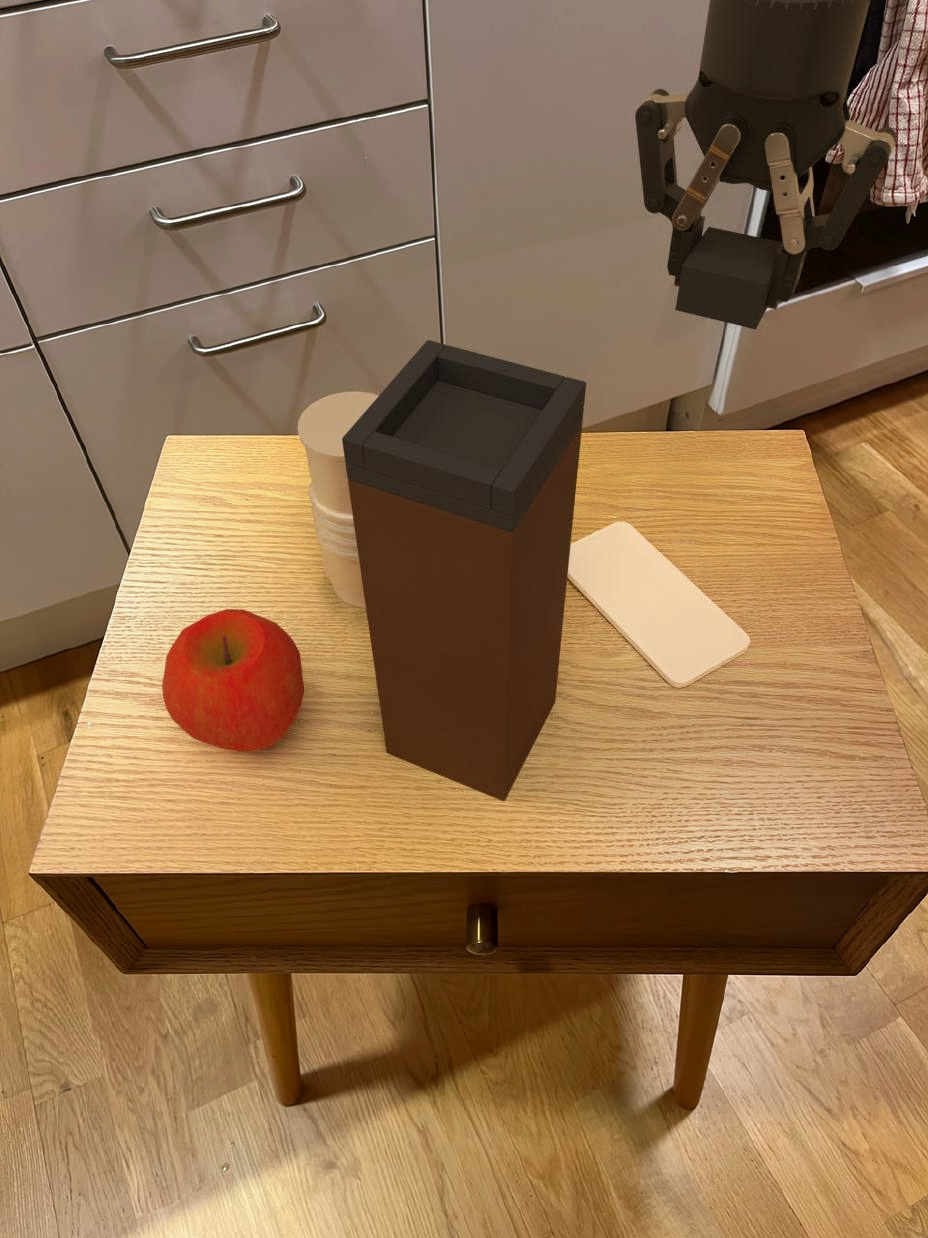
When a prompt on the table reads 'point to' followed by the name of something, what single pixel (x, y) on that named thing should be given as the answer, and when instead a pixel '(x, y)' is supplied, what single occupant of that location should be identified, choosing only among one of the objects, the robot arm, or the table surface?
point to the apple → (233, 681)
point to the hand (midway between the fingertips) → (729, 290)
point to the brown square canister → (466, 555)
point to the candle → (334, 487)
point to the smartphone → (654, 604)
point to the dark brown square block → (728, 277)
